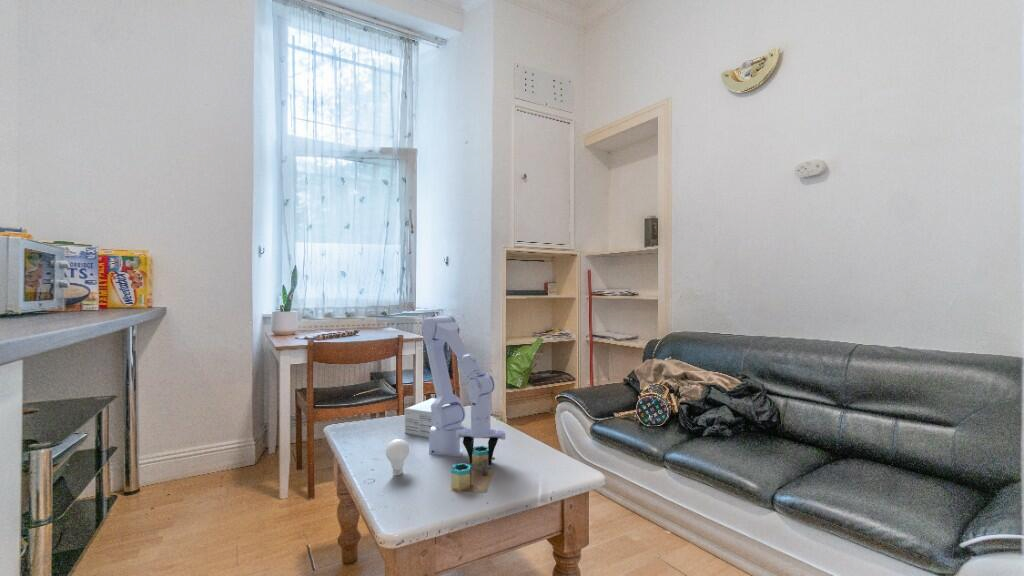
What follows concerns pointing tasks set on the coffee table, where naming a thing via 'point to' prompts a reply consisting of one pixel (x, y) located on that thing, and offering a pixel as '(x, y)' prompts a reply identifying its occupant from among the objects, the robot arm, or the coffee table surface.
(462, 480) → the seated sleeve
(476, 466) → the tray
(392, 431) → the coffee table surface
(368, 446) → the coffee table surface
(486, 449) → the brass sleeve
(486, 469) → the pin board
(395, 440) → the lightbulb
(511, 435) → the coffee table surface
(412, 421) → the supplement box
